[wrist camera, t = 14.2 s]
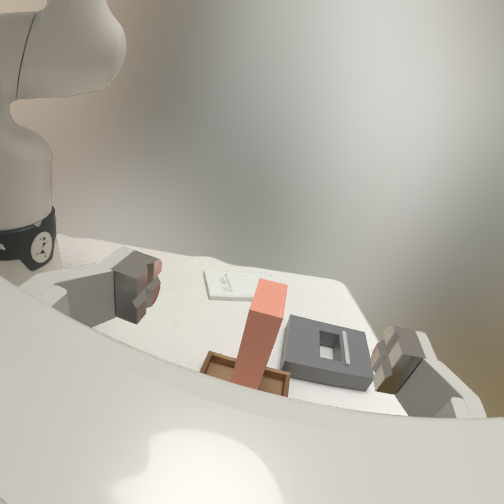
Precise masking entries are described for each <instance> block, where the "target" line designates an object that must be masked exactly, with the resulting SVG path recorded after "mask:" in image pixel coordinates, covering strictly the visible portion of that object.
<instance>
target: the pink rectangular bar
mask: <svg viewBox="0 0 504 504" xmlns="http://www.w3.org/2000/svg"><path fill="white" fill-rule="evenodd" d="M287 286H288V285H285V284H281V283H277V282H273V281H269V280H266V279H262V278H260V279H259V282H258V285H257V288H256V291H255V294H254V297H253V300H252V303H251V306H250V310H249V313H248V317H247V321H246V325H245V329H244V333H243V337H242V341H241V344H240V348H239V352H238V356H237V360H236V363H235V367H234V371H233V375H232V379H231V383H235V384H238V385H242V386H245V387H249V388H252V389H256V390H257V389H258V387H259V384H260V381H261V379H262V376H263V373H264V371H265V368H266V365H267V362H268V360H269V357H270V354H271V351H272V349H273V346H274V343H275V340H276V337H277V334H278V331H279V329H280V326H281V323H282V320H283V315H284V308H285V301H286V293H287Z"/></svg>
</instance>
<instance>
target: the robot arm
mask: <svg viewBox="0 0 504 504" xmlns="http://www.w3.org/2000/svg"><path fill="white" fill-rule="evenodd" d="M125 53H126V38H125V34H124V31H123V29H122V27H121V25H120V24H119V23H118V21H117V20H116V19H115V18H114V16H113V15H112V13H111V12H110V10H109V8H108V5H107V3H106V0H47V5H46V7H45V8H44V9H43V10H40V11H38V12H16V13H3V14H0V504H504V417H496V418H487V416H486V413H485V411H484V408H483V406H482V403H481V401H480V399H479V397H478V396H477V395H476V394H474V392H473V391H472V390H470V389H469V388H468V387H467V386H466V385H465V384H464V383H463V382H462V381H461V380H460V379H459V378H458V377H457V376H456V375H455V374H454V373H453V372H452V371H451V370H449V369H448V368H447V367H446V366H445V365H444V364H443V363H442V362H441V361H438V360H437V358H436V356H435V353H434V351H433V349H432V346H431V344H430V342H429V340H428V338H427V335H426V334H425V333H424V332H419V331H414V330H409V329H404V328H399V327H395V326H388V327H387V328H386V330H385V331H384V333H383V341H381V342H379V343H377V345H376V346H375V348H374V350H373V353H372V356H371V368H372V370H373V371H374V372H375V373H376V374H375V375H374V377H373V380H374V386H375V391H377V392H382V393H388V394H394V395H395V396H396V398H397V399H398V401H399V402H400V404H401V405H402V407H403V408H404V410H405V411H406V413H407V414H408V416H400V415H390V414H381V413H373V412H365V411H358V410H351V409H345V408H339V407H333V406H327V405H322V404H317V403H312V402H307V401H302V400H297V399H293V398H288V397H284V396H280V395H276V394H272V393H268V392H264V391H260V390H256V389H252V388H249V387H245V386H242V385H238V384H235V383H231V382H228V381H225V380H222V379H218V378H215V377H212V376H209V375H206V374H203V373H200V372H197V371H194V370H191V369H188V368H186V367H183V366H180V365H177V364H175V363H172V362H169V361H167V360H164V359H161V358H159V357H156V356H154V355H151V354H149V353H146V352H144V351H141V350H139V349H137V348H134V347H132V346H130V345H127V344H125V343H123V342H121V341H118V340H116V339H114V338H112V337H109V336H107V335H105V334H103V333H101V332H99V331H97V330H95V329H93V328H92V327H94V326H96V325H99V324H101V323H103V322H106V321H108V320H111V319H113V318H115V316H116V317H119V318H121V319H124V320H126V321H129V322H131V323H134V324H138V323H139V321H140V320H141V319H142V318H143V316H144V315H145V314H146V308H148V307H151V306H152V305H153V304H154V303H155V301H156V299H157V297H158V294H159V290H160V280H159V278H158V276H157V275H158V274H159V273H160V272H161V268H162V262H161V260H160V259H158V258H155V257H152V256H149V255H146V254H144V253H141V252H138V251H135V250H133V249H129V248H126V247H121V248H120V249H118V250H117V251H116V252H114V253H113V254H111V255H110V256H109V257H107V258H106V259H105V260H103V261H102V262H101V263H99V264H95V263H93V264H87V265H82V266H76V267H71V268H65V269H63V267H62V262H61V257H60V252H59V246H58V241H57V238H56V216H55V209H54V207H53V206H52V158H53V157H52V151H51V148H50V146H49V144H48V142H47V141H46V140H45V139H44V138H43V137H42V136H40V135H39V134H37V133H35V132H34V131H32V130H30V129H28V128H26V127H24V126H22V125H19V124H18V123H16V122H15V121H14V120H13V119H12V117H11V114H10V104H11V103H12V102H13V101H16V100H17V99H33V98H63V97H64V98H66V97H71V96H77V95H83V94H88V93H93V92H98V91H101V90H102V89H103V88H105V87H106V86H107V85H108V84H109V83H110V82H111V81H112V79H114V77H115V76H116V75H117V73H118V72H119V70H120V68H121V66H122V64H123V61H124V58H125Z"/></svg>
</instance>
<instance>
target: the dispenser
mask: <svg viewBox="0 0 504 504" xmlns="http://www.w3.org/2000/svg"><path fill="white" fill-rule="evenodd" d="M320 345H323V346H328V347H332V348H333V355H334V360H330V359H326V358H321V357H320ZM280 370H281V371H285V372H290V377H292V378H296V379H301V380H306V381H311V382H315V383H321V384H326V385H331V386H337V387H342V388H348V389H354V390H361V391H366V390H367V388H368V387H369V385H370V384H371V383H372V381H373V377H374V374H373V370H372V368H371V359H370V354H369V350H368V345H367V340H366V336H365V332H362V331H357V330H353V329H348V328H344V327H340V326H335V325H331V324H327V323H323V322H319V321H315V320H311V319H306V318H302V317H298V316H295V315H291V314H290V317H289V320H288V323H287V326H286V330H285V337H284V344H283V352H282V359H281V366H280Z"/></svg>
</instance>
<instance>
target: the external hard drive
mask: <svg viewBox="0 0 504 504" xmlns="http://www.w3.org/2000/svg"><path fill="white" fill-rule="evenodd" d="M204 278H205V283H206V286H207V292H208V297H209V300H224V301H252V300H253V297H254V294H255V291H256V288H257V285H258V282H259V279H260V278H262V279H266V280H269V281H273V279H272V278H271V276H270V274H269V273H251V272H231V271H212V270H204ZM273 282H274V281H273Z"/></svg>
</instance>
